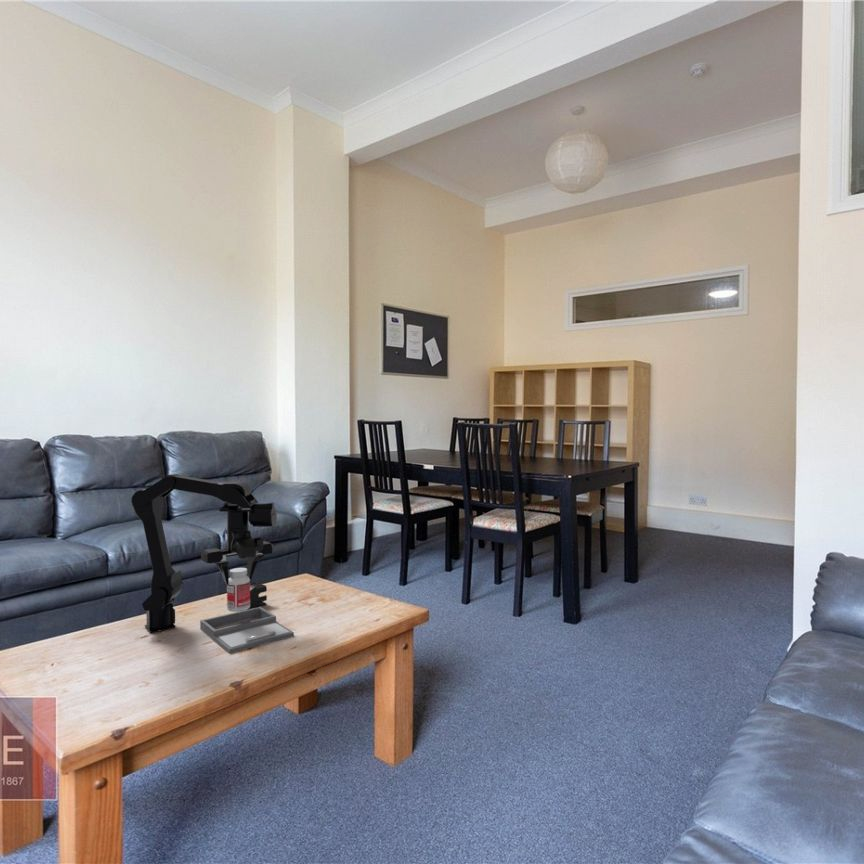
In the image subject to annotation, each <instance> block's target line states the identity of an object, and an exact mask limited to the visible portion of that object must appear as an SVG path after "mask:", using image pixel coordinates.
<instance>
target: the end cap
mask: <svg viewBox="0 0 864 864" xmlns="http://www.w3.org/2000/svg"><path fill="white" fill-rule="evenodd" d="M256 583H257V582H255V581H253V580H250V607H249V608H251V609H253V608H258V607H264V606H267V603H266V601H267V600H268V599H267V597H268V595H262V596H260V594H262V593H266V592H267V589H268V587H267V585H265V584H263V583H259V584H256ZM255 584H256V585H255Z"/></svg>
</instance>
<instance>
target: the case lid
mask: <svg viewBox="0 0 864 864" xmlns="http://www.w3.org/2000/svg"><path fill="white" fill-rule="evenodd" d="M272 631H275V632H276V634H275V635H272V636H269V637H265V638H261V639H257V640H253V641H250V642H245V638H249V637H253V636H257V635H261V634H265V633H268V632H272ZM291 637H295V635H294V631H292V630H291V629H289V628H287V627H286V626H285V625H282V624H281V623H280V622H278V621H277V620H276V621H274V622H270V623H266V624H262V625H258V626H254V627H250V628H246V629H242V630H238V631H234V632H230V633H226V634H222V635H218V636H214V640H213V642H215V643H216V644H217V645H218V646H220V647H221V648H222V649H224V650H225V651H226V652H227V653H228V654H232V653H236V652H240V651H244V650H247V649H251V648H255V647H259V646H262V645H266V644H269V643H273V642H277V641H279V640H280V641H281V640H284V639H288V638H291Z"/></svg>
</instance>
